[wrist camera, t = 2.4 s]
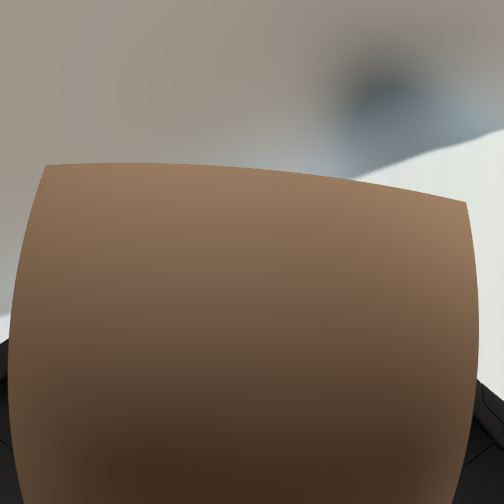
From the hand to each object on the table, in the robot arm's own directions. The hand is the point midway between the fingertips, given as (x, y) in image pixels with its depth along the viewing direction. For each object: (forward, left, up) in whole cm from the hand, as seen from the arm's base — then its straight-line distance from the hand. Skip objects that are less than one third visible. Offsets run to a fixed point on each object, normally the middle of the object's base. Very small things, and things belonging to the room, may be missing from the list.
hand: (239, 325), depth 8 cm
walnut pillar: (-1, +1, -7) cm, 7 cm away
